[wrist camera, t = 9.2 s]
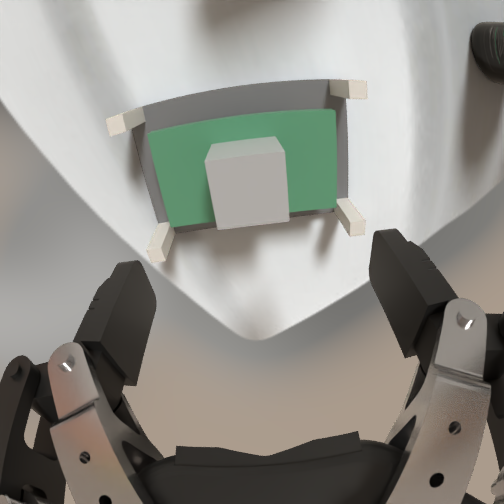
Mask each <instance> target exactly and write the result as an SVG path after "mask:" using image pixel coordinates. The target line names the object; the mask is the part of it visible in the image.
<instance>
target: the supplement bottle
mask: <svg viewBox="0 0 504 504" xmlns="http://www.w3.org/2000/svg"><path fill="white" fill-rule="evenodd" d="M472 49H473V53H474V56H475V59H476V62H477V64H478V66H479V67H480V69H481V70H482V72H483V73H484V74H485V75H486V76H487V77H488V78H489V79H490V80H492V81H493V82H496V83H499V84H503V85H504V22H481V23H479V24H477V25H476V26H475V28H474V29H473V32H472Z"/></svg>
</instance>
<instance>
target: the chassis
mask: <svg viewBox="0 0 504 504" xmlns="http://www.w3.org/2000/svg"><path fill="white" fill-rule="evenodd" d="M346 98H348V99H368V98H367V82H366V81H360V80H342V79H321V80H295V81H280V82H269V83H259V84H251V85H243V86H236V87H229V88H223V89H217V90H211V91H206V92H200V93H196V94H191V95H186V96H182V97H177V98H173V99H169V100H165V101H161V102H157V103H153V104H150V105H146V106H143V107H139V108H136V109H133V110H130V111H127V112H124V113H121V114H118V115H115V116H113V117H110V118H107V119H106V123H107V127H108V131H109V135H110V136H113V135H116V134H120V133H123V132H126V131H128V130H130V129H132V131H133V135H134V139H135V143H136V147H137V151H138V155H139V158H140V162H141V166H142V169H143V173H144V177H145V180H146V184H147V187H148V191H149V194H150V197H151V201H152V204H153V207H154V211H155V214H156V217H157V220H158V223H159V224H158V226H157V228H156V230H155V232H154V234H153V236H152V238H151V240H150V243H149V245H148V247H147V249H146V251H147V253H148V256H149V258H150V261H151V263H155V262H162V261H166V259H167V256H168V253H169V250H170V247H171V244H172V241H173V239H174V236H175V233H181V232H188V231H194V230H201V229H208V228H214V227H217V224H216V221H214V222H207V223H200V224H192V225H185V226H178V227H172V228H171V226H170V223H169V219H168V216H167V212H166V209H165V205H164V201H163V198H162V194H161V190H160V186H159V182H158V178H157V174H156V170H155V166H154V162H153V158H152V153H151V149H150V145H149V140H148V136H147V134H148V133H150V132H151V131H155V130H159V129H164V128H168V127H173V126H178V125H183V124H188V123H193V122H199V121H204V120H210V119H216V118H223V117H230V116H237V115H245V114H254V113H264V112H275V111H288V110H305V109H333V110H335V111H336V136H337V206H336V208H327V209H317V210H307V211H298V212H289V217H296V216H304V215H313V214H321V213H330V212H335V214H336V215H337V217H338V219H339V220H340V222H341V223H342V225H343V227H344V228H345V230H346V231H347V233H348V235H349V236H350V237H351V236H359V235H365V223H366V220H365V219H364V218H363V216H362V215H361V214H360V212H359V211H358V210H357V209H356V207H355V206H354V205H353V204H352V202H351V201H350V200H349V199H348V132H347V110H346Z"/></svg>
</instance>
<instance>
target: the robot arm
mask: <svg viewBox="0 0 504 504" xmlns="http://www.w3.org/2000/svg"><path fill="white" fill-rule="evenodd" d="M369 277H370V281H371V284H372V287H373V289H374V291H375V293H376V295H377V297H378V299H379V301H380V303H381V305H382V307H383V309H384V312H385V313H386V316H387V318H388V320H389V322H390V325H391V327H392V329H393V331H394V334H395V336H396V338H397V341H398V343H399V345H400V348H401V350H402V352H403V355H404V357H405V358H408V357H411V356H415V355H417V356H418V359H419V363H418V365H417V367H416V370H415V373H414V376H413V379H412V382H411V385H410V388H409V391H408V394H407V396H406V399H405V402H404V404H403V407H402V410H401V412H400V414H399V416H398V418H397V420H396V422H395V423H394V425H393V427H392V429H391V431H390V432H389V434H388V436H387V439H386V441H385V443H382V442H377V441H371V440H360V438H359V434H358V431H356V432H352V433H348V434H343V435H338V436H333V437H328V438H322V439H316V440H312V441H310V442H307V443H304V444H302V445H299V446H296V447H294V448H291V449H288V450H285V451H282V452H279V453H276V454H273V455H270V456H259V455H253V454H248V453H242V452H237V451H233V450H228V449H224V448H219V447H185V446H176V455H174V456H170V457H167V458H164V457H163V455H162V454H161V453H160V452H159V451H158V449H157V448H156V447H155V446H154V445H153V444H152V443H151V442H150V440H149V439H148V438H147V436H146V434H145V433H144V431H143V429H142V427H141V426H140V424H139V422H138V420H137V418H136V416H135V415H134V413H133V411H132V409H131V407H130V405H129V403H128V401H127V399H126V397H125V395H124V394H123V393H122V390H123V386H124V385H128V386H136V385H137V381H138V376H139V372H140V368H141V364H142V360H143V356H144V352H145V348H146V344H147V340H148V336H149V333H150V329H151V325H152V322H153V318H154V315H155V311H156V297H155V293H154V291H153V289H152V286H151V284H150V282H149V280H148V277H147V275H146V273H145V270H144V268H143V266H142V264H141V263H140V261H138V260H137V261H129V262H121V263H118V264H117V265H116V267H115V269H114V271H113V273H112V275H111V276H110V278H108V279H107V280H106V281H105V282H104V283H103V284H102V285H101V286H100V287H99V288H98V290H97V292H96V294H95V296H94V298H93V301H92V302H91V304H90V306H89V310H87V312H86V314H85V316H84V318H83V320H82V323H81V325H80V327H79V329H78V331H77V333H76V336H75V338H74V340H73V342H69V343H65V344H63V345H61V346H60V347H58V348H57V349H56V350H55V351H54V352H53V354H52V355H51V357H50V359H49V362H46V363H42V364H39V365H34V364H33V363H32V362H31V361H30V360H29V359H28V358H27V357H26V356H23V355H22V356H18V357H16V358H14V359H13V360H12V361H11V362H10V363H9V364H8V366H7V367H6V370H5V372H4V374H3V377H2V380H1V382H0V504H64V496H65V486H66V482H67V484H68V487H69V489H70V491H71V494H72V496H73V498H74V501H75V503H76V504H485V503H484V502H482V501H480V500H478V499H477V498H475V497H473V496H471V495H469V494H468V493H466V489H467V486H468V484H469V481H470V478H471V476H472V472H473V470H474V466H475V463H476V460H477V457H478V453H479V449H480V446H481V442H482V437H483V433H484V429H485V425H486V420H487V422H488V426H489V429H490V433H491V436H492V439H493V443H494V447H495V452H496V456H497V460H498V465H499V469H500V473H499V475H498V478H497V479H496V480H495V481H494V482H493V484H492V486H491V492H492V494H494V495H496V497H495V501H494V503H493V504H504V312H503V314H485V313H484V311H483V310H482V309H481V307H480V306H478V305H477V304H476V303H474V302H473V301H471V300H468V299H464V298H458V297H457V295H456V294H455V292H454V291H453V289H452V288H451V286H450V285H449V284H448V283H447V281H446V279H445V278H444V277H443V276H442V274H441V273H440V271H439V270H438V269H436V266H435V265H434V263H433V262H432V261H430V258H429V257H428V255H427V254H426V253H425V252H424V250H423V249H422V248H420V247H419V246H417V245H416V244H414V243H413V242H411V241H409V242H407V241H406V239H405V238H404V237H403V236H402V234H401V233H400V232H399V231H398V230H397V229H387V230H378V231H375V232H374V235H373V242H372V250H371V257H370V264H369ZM30 409H33V410H34V411H35V412H36V413H38V414H39V415H40V416H41V417H40V421H39V425H38V429H37V433H36V438H35V442H34V447H33V449H31V448H29V447H28V446H27V445H26V443H25V440H24V432H25V428H26V424H27V420H28V416H29V413H30Z"/></svg>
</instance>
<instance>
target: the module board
mask: <svg viewBox="0 0 504 504" xmlns="http://www.w3.org/2000/svg"><path fill="white" fill-rule="evenodd" d="M147 136H148V140H149V145H150V149H151V153H152V158H153V162H154V166H155V170H156V174H157V178H158V182H159V186H160V190H161V194H162V198H163V201H164V205H165V209H166V212H167V216H168V219H169V223H170V226H171V228H172V227H178V226H185V225H192V224H200V223H207V222H214V221H216V224H217V229H218V230H223V229H231V228H239V227H247V226H255V225H264V224H272V223H281V222H290V220H289V212H298V211H307V210H317V209H327V208H336V206H337V136H336V111H335V110H333V109H305V110H288V111H275V112H264V113H254V114H245V115H237V116H230V117H223V118H216V119H210V120H204V121H199V122H193V123H188V124H183V125H178V126H173V127H168V128H164V129H159V130H155V131H151V132H150V133H148V134H147Z"/></svg>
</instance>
